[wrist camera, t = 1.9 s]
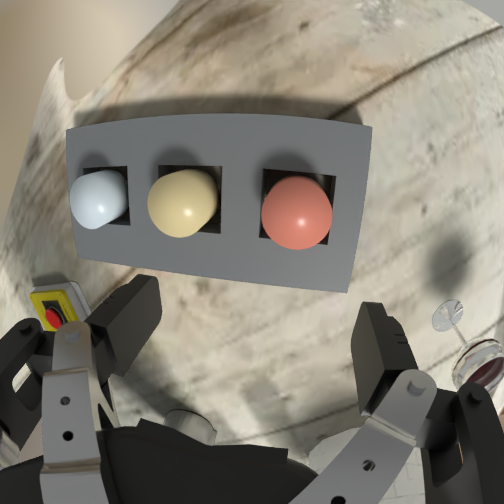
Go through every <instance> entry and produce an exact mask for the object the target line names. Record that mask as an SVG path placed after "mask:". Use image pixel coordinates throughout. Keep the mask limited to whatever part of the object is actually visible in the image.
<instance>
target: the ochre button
mask: <svg viewBox="0 0 504 504" xmlns="http://www.w3.org/2000/svg"><path fill="white" fill-rule="evenodd" d="M219 203H220V193H219V189H218V186H217V184H216V182H215V180H214V179H213V178H212V177H211V176H210V175H209V174H208V173H206V172H204V171H202V170H200V169H195V168H189V169H184V170H181V171H178V172H174V173H171V174H168V175H165V176H163V177H161V178H160V179H158V180H157V181H156V182H155V183H154V184H153V186H152V187H151V189H150V192H149V195H148V201H147V205H148V211H149V215H150V217H151V219H152V221H153V223H154V224H155V225H156V227H157V228H158V229H159V230H161V231H162V232H163V233H165V234H167V235H169V236H172V237H178V238H182V237H187V236H190V235H192V234H194V233H195V232H197V231H198V230H199V229H200V228H201V227H202V226H203V225H204V224H205V223H206V222H208V221H209V220H210V219H211V218H212V217H213V216H214V214H215V213H216V211H217V209H218V207H219Z"/></svg>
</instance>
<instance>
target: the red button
mask: <svg viewBox="0 0 504 504" xmlns="http://www.w3.org/2000/svg"><path fill="white" fill-rule="evenodd" d="M261 218H262V223H263V227H264V229H265V231H266V233H267V234H268V236H269V237H270V238H271V239H272V240H273V241H274V242H276V243H277V244H279V245H280V246H282V247H285V248H288V249H294V250H300V249H306V248H310V247H312V246H314V245H316V244H317V243H319V242H320V241H321V240H322V239H323V238H324V237H325V236H326V234H327V233H328V231H329V229H330V227H331V223H332V208H331V205H330V202H329V200H328V198H327V196H326V194H325V192H324V190H323V189H322V187H321V186H320V185H319V184H318V183H317V182H316V181H315V180H313V179H312V178H309V177H307V176H303V175H290V176H287V177H284V178H282V179H280V180H279V181H278V182H276V183H275V184H274V186H273V187H272V188H271V190H270V192H269V193H268V195H267V197H266V199H265V201H264V203H263V206H262V212H261Z"/></svg>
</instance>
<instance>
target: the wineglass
mask: <svg viewBox="0 0 504 504" xmlns="http://www.w3.org/2000/svg"><path fill="white" fill-rule="evenodd" d="M462 313H463V307H462V304H461V303H460V302H459V301H457V300H451V301H447V302H445V303H444V304H442V305H441V306H440V307H439V308H438V309H437V311H436V312H435V313H434V316H433V319H432V325H433V328H434V329H435V330H437V331H439V332H443V331H447V330H449V329H451V328H454V330H455V332H456V334H457V336H458V338H459V340H460V341H461V343H462V345H463V347H462V349H461V350H460V351H459V353H458V355H457V357H456V359H455V361H454V363H453V366H452V374H451V375H452V380H453V384H454V386H455V388H456V389H457V390H459V388H460V387H461V386H462V385H463V384H464V383H466V382H475V383H478V384H480V385H482V386H483V387H484V388H485V389H486V390H487V391H488V393H489V392H490V391H491V390H492V389H494V388H495V387H496V386H497V385H498V384H499V383H500V381H501V380H502V379H503V378H504V351H503V348H502V347H501V345H500V344H499V342H498V341H497V340H494V339H492V338H489V337H482V338H477V339H474V340H471V341H470V342H467V340H466V339H465V337H464V336H463V334H462V333H461V332H460V330H459V329H458V327H457V326H456V324H457V323H458V322H459V320H460V319H461V316H462Z"/></svg>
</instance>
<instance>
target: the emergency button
mask: <svg viewBox="0 0 504 504" xmlns="http://www.w3.org/2000/svg"><path fill="white" fill-rule="evenodd" d="M32 290H33V292H32V293H31V294H30V299H31V301H32V303H33V305H34V307H35V309H36V311H37V313H38V315H39V317H40V319H41V321H42V323H43V325H44V327H45V329H46V330H47V331H57V330H58V328H59V327H61V326H62V325H63V324H65V323H67V322H71V321H84V320H85V319H86V318H87V317H88V316H89V315H90V314H91V313H92V312H91V310H90V308H89V306H88V304H87V302H86V300H85V297H84V295H83V293H82V291H81V288H80V286H79V285H78V283H76V282H65V283H57V284H50V285H42V286H34V287H33V289H32Z"/></svg>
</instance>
